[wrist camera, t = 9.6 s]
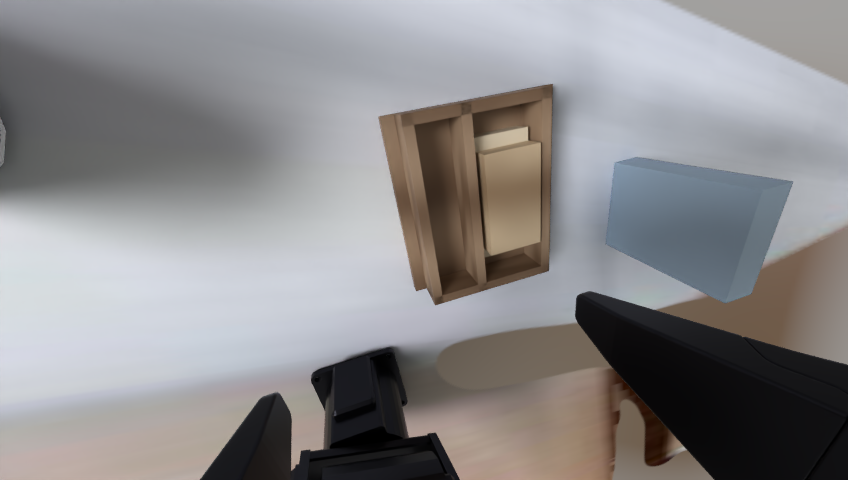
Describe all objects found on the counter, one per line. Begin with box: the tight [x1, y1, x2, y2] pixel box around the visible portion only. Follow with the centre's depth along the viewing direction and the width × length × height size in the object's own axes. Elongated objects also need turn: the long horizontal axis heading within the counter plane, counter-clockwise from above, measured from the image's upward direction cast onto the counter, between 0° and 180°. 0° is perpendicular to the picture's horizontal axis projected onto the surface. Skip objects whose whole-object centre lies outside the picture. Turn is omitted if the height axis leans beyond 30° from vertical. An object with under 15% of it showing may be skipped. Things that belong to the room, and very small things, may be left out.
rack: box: [378, 84, 553, 305], centre depth 20 cm, size 12×11×3 cm
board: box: [606, 157, 793, 303], centre depth 21 cm, size 7×2×9 cm, turn 9°
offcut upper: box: [475, 141, 541, 255], centre depth 19 cm, size 6×4×1 cm, turn 9°
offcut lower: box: [474, 126, 528, 258], centre depth 20 cm, size 8×4×1 cm, turn 9°
